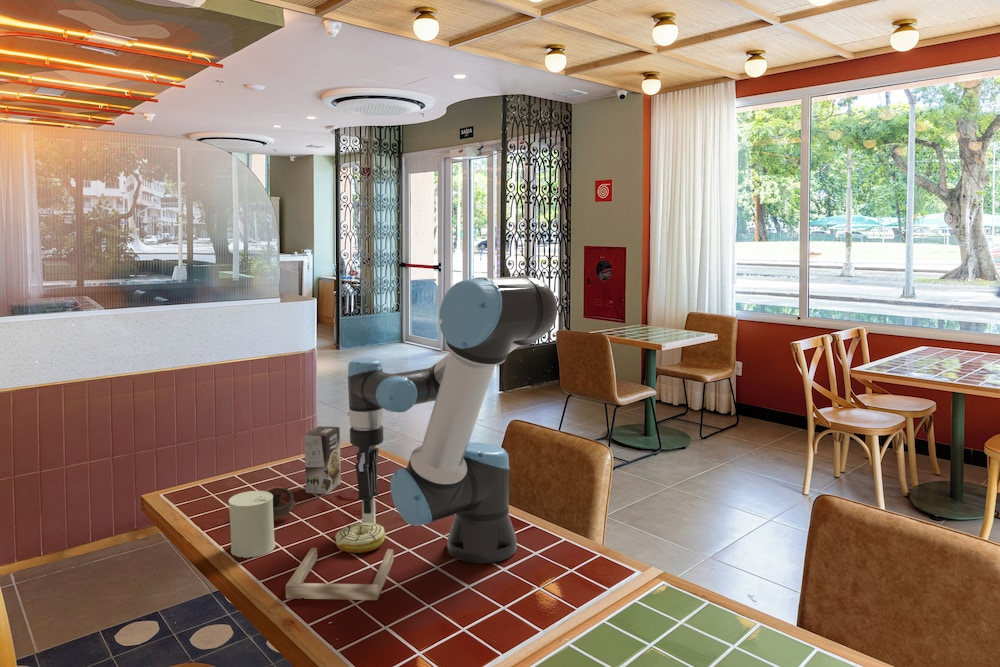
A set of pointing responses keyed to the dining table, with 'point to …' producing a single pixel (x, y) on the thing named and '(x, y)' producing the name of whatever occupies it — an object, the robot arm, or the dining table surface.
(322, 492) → the coffee box
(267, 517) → the can
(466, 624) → the dining table surface
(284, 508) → the brown spiked ring
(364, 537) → the decorated donut
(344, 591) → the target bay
